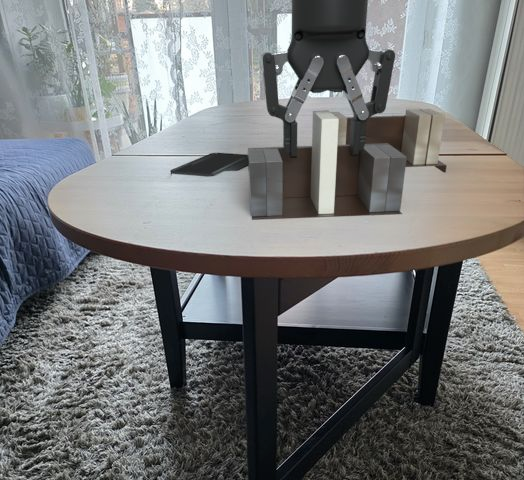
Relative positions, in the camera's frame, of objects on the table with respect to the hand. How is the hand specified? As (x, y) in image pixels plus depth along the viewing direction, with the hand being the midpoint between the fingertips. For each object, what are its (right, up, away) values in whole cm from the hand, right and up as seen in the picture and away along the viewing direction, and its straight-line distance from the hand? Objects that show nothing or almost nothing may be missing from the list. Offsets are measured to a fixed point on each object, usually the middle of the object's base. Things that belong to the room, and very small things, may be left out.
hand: (323, 155), depth 58 cm
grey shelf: (0, -6, +4) cm, 7 cm away
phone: (-15, +7, +24) cm, 29 cm away
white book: (0, -5, +3) cm, 6 cm away
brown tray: (+12, +7, +23) cm, 27 cm away
